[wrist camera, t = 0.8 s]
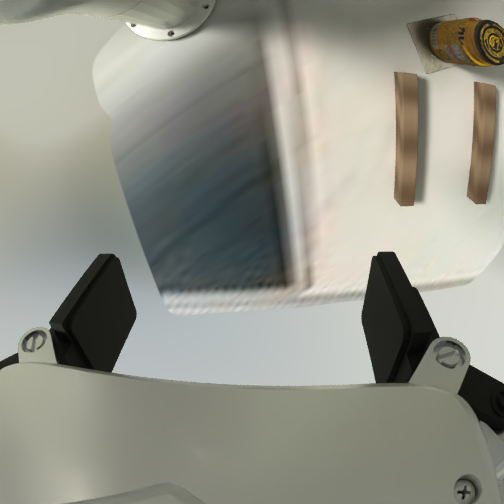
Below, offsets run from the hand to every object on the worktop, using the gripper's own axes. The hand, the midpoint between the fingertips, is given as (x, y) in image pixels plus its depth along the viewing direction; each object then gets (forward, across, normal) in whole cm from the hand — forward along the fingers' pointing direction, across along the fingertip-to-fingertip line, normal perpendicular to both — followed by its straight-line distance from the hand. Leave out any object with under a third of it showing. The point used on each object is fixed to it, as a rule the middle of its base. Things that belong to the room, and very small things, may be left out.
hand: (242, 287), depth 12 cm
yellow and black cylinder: (+33, -24, -13) cm, 43 cm away
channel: (+33, -25, +1) cm, 41 cm away
